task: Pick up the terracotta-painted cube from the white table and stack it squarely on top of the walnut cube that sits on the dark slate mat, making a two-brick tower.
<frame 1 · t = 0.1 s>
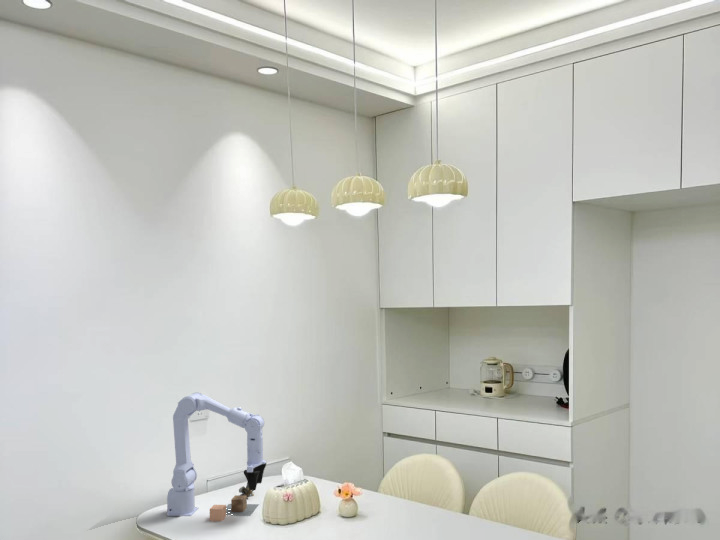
hand: (255, 486, 223), 10 cm above the table, tool pointing down, fingers open, 7 cm apart
terracotta block: (218, 519, 219), on the table
eagle figurine: (249, 496, 243), on the table
walnut block: (239, 509, 227), resting on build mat
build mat: (239, 510, 227), on the table
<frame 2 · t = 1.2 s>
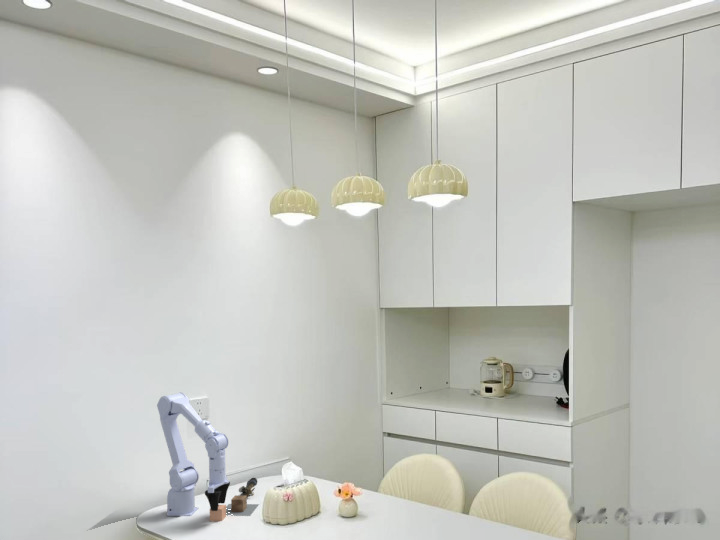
hand: (218, 506, 219), 4 cm above the table, tool pointing down, fingers open, 7 cm apart
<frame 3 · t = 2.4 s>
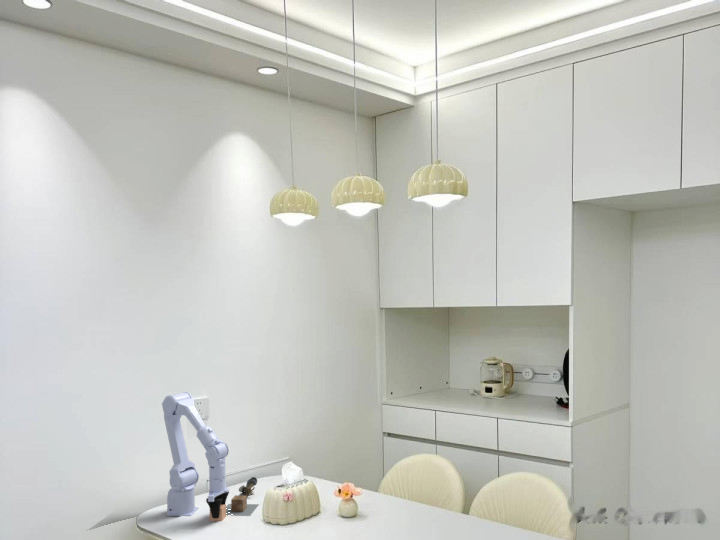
hand: (218, 515, 219), 1 cm above the table, tool pointing down, fingers closed on terracotta block, 4 cm apart
terracotta block: (218, 519, 219), on the table, touching gripper
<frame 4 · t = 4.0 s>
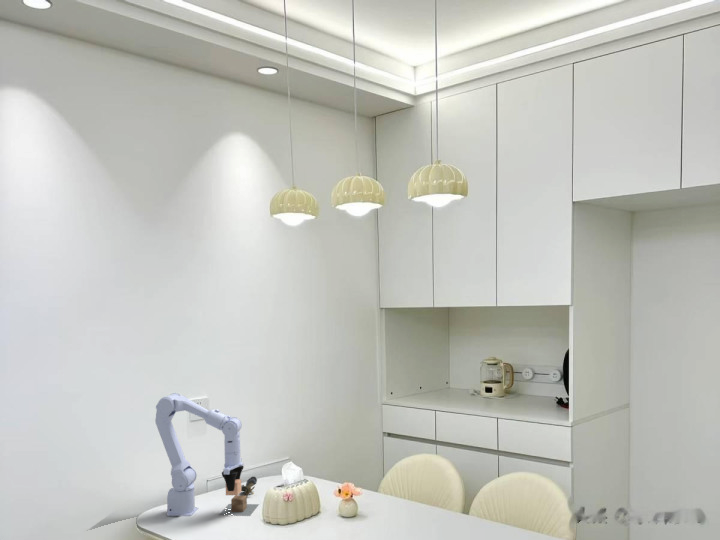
hand: (233, 488, 225), 9 cm above the table, tool pointing down, fingers closed on terracotta block, 4 cm apart
terracotta block: (233, 493, 225), point 7 cm above the table, touching gripper
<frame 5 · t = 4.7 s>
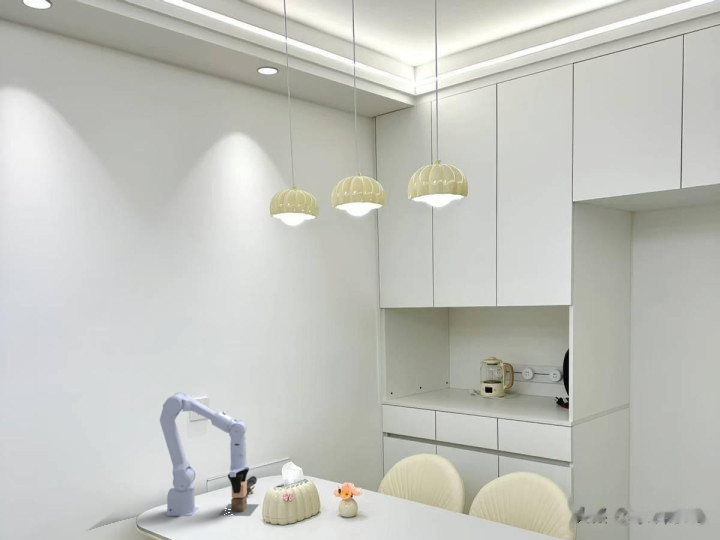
hand: (238, 490, 227), 7 cm above the table, tool pointing down, fingers closed on terracotta block, 4 cm apart
terracotta block: (239, 495, 227), point 6 cm above the table, touching gripper
when the fingers open (7 cm above the table, at t = 5.4 s): terracotta block stays where it is, resting on walnut block.
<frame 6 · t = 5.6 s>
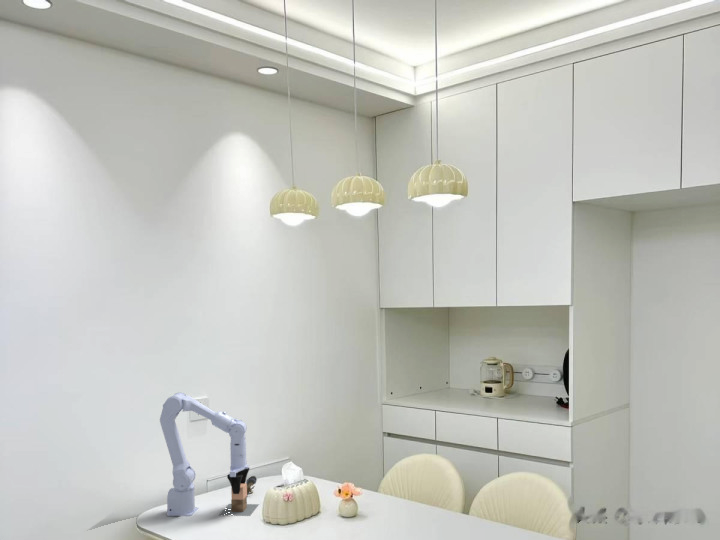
hand: (238, 490, 227), 7 cm above the table, tool pointing down, fingers open, 6 cm apart
terracotta block: (239, 497, 227), point 5 cm above the table, touching walnut block
walnut block: (239, 509, 227), resting on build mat, touching terracotta block
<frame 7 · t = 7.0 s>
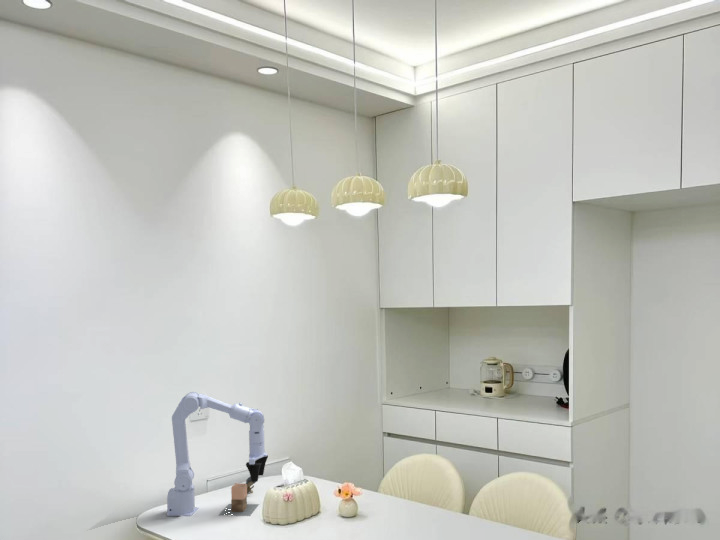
hand: (257, 478, 232), 11 cm above the table, tool pointing down, fingers open, 7 cm apart
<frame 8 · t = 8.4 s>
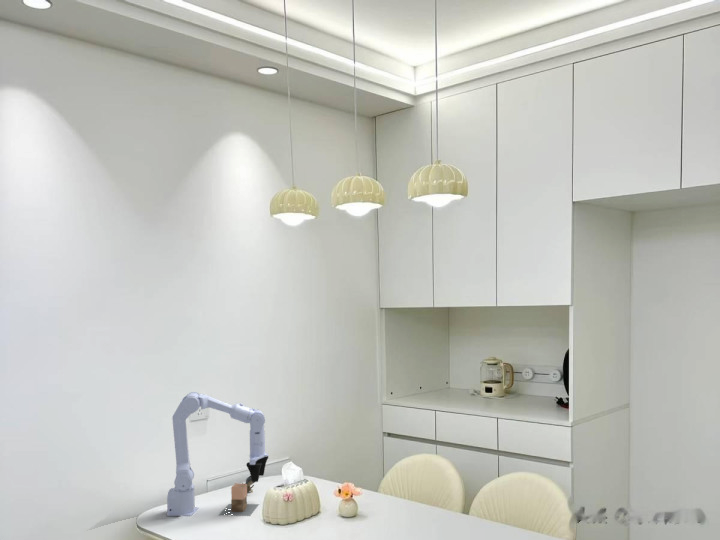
hand: (258, 478, 232), 10 cm above the table, tool pointing down, fingers open, 7 cm apart
at the end: terracotta block 0.1 cm off-centre on the walnut block, point 4.5 cm above the walnut block's base; terracotta block tilted 0°; walnut block moved 0.0 cm from its start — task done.
